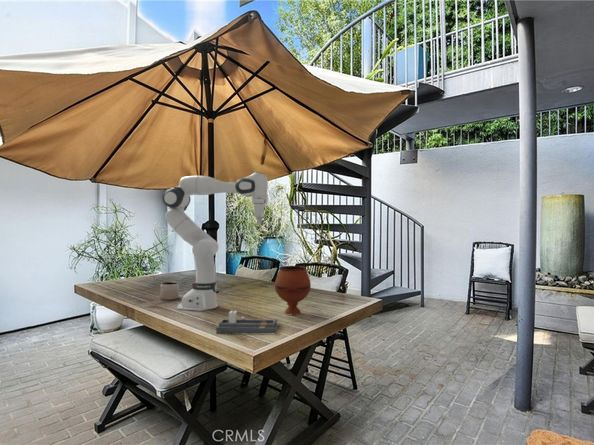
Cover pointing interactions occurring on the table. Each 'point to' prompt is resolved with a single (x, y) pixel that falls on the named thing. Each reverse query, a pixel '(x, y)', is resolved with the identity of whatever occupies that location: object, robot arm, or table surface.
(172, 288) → the planter
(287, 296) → the terracotta clay pot
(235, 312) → the fader cap
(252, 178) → the robot arm
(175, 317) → the table surface
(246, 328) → the console
